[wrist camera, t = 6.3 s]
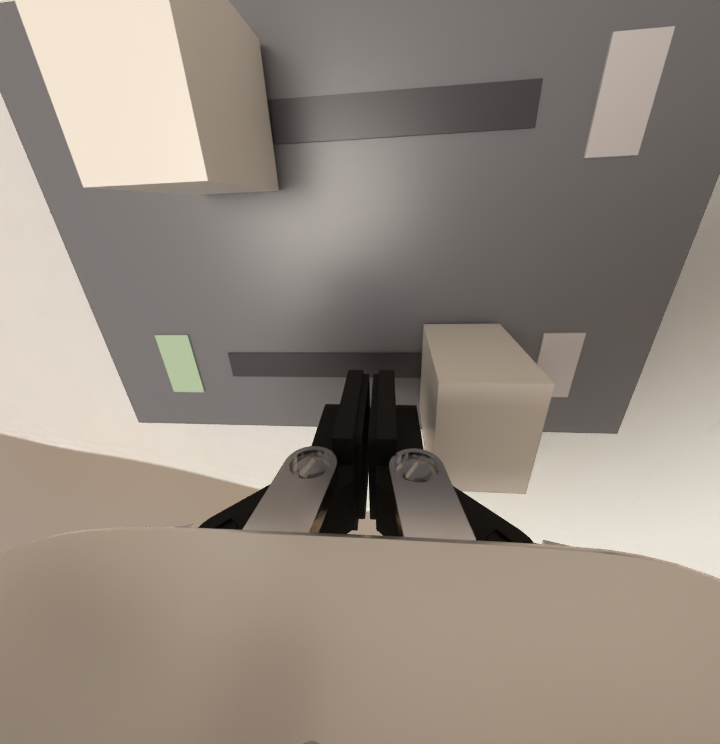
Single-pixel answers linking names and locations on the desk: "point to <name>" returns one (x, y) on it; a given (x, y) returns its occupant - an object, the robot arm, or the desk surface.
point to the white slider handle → (482, 406)
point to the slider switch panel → (408, 205)
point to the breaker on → (156, 93)
